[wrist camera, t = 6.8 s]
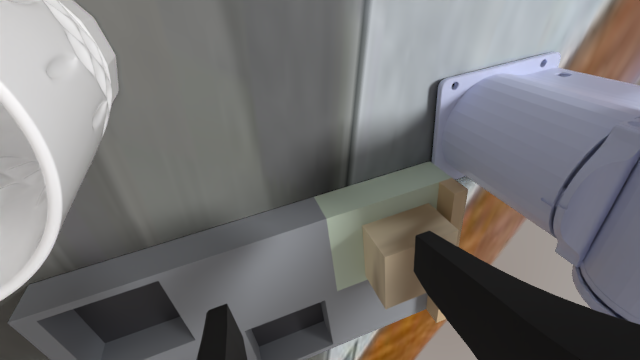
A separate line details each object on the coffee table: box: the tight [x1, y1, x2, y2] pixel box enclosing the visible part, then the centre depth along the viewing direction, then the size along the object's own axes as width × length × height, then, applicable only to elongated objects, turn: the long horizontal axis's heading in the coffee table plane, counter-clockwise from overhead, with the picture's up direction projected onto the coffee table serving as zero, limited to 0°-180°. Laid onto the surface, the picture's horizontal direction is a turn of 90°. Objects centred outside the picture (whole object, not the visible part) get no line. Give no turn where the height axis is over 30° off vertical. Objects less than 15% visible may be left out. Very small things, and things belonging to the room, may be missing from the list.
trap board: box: [8, 161, 468, 360], centre depth 23 cm, size 26×14×4 cm, turn 97°
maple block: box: [362, 203, 459, 310], centre depth 21 cm, size 5×5×3 cm
